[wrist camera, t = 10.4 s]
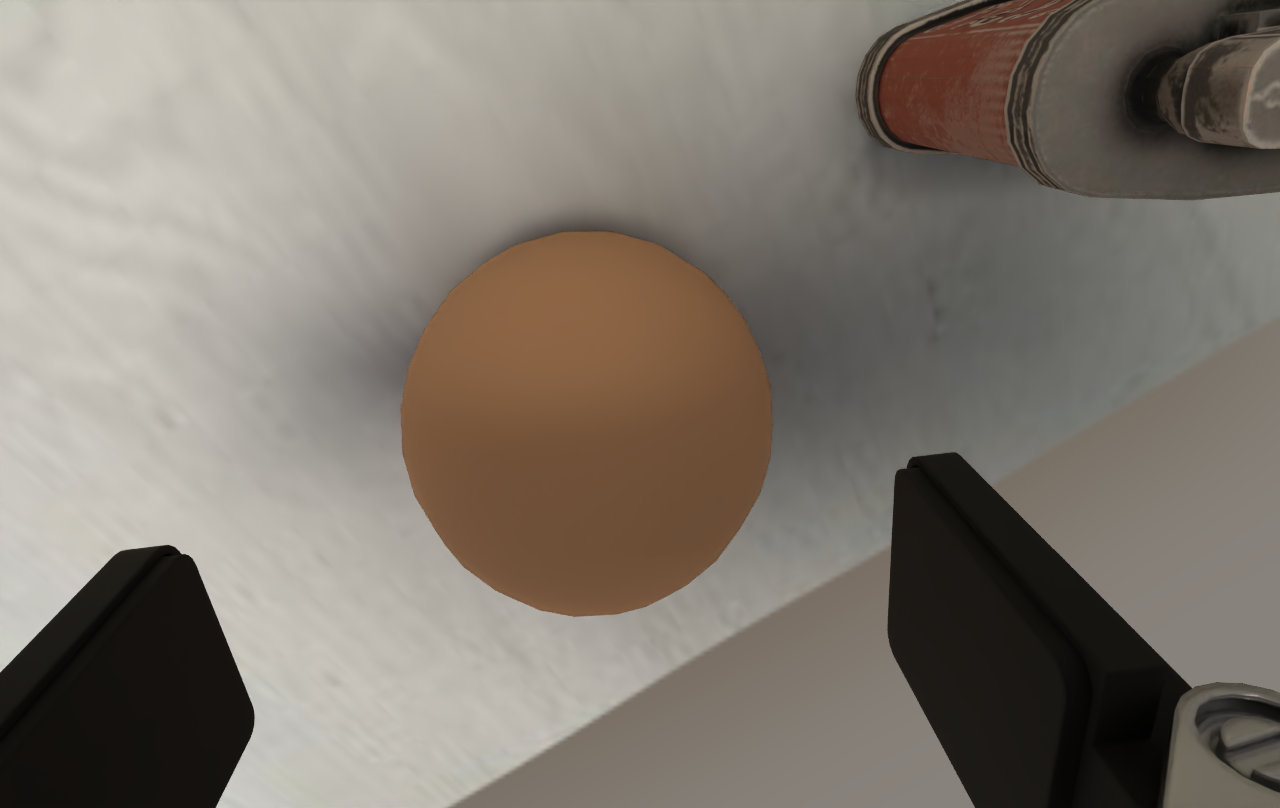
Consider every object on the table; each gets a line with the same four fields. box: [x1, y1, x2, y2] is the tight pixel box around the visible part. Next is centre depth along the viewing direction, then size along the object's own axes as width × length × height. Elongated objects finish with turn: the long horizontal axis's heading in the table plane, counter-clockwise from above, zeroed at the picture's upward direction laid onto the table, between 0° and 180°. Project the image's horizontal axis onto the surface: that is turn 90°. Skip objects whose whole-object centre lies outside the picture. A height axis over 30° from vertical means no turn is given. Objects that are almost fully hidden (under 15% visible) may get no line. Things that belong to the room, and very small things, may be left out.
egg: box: [401, 232, 773, 617], centre depth 15 cm, size 7×7×8 cm
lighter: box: [856, 0, 1280, 200], centre depth 12 cm, size 8×3×10 cm, turn 99°
